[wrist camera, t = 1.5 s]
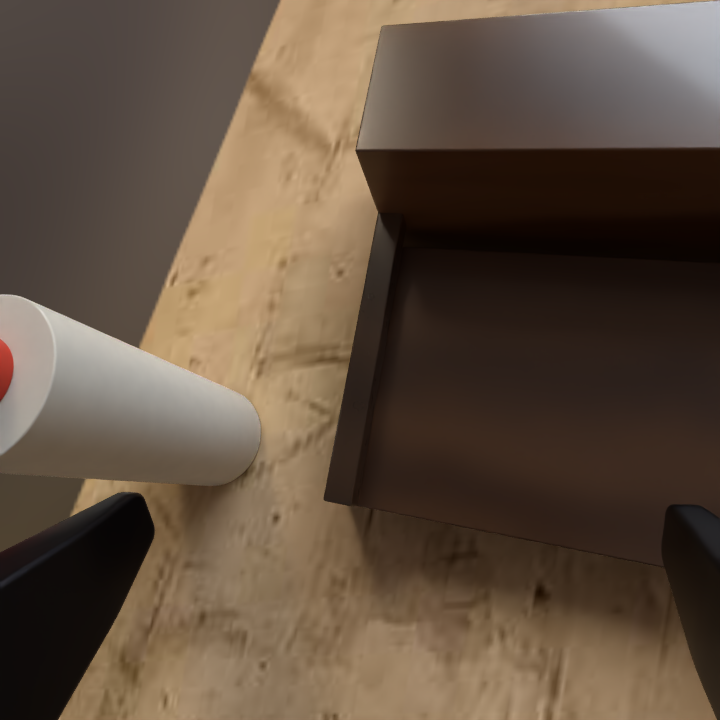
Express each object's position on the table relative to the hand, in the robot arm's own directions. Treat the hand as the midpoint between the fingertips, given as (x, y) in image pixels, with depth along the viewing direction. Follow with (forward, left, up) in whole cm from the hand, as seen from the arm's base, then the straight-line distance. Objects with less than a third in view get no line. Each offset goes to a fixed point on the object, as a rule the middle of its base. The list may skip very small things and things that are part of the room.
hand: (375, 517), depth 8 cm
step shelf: (+8, -7, -15) cm, 18 cm away
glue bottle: (+4, +11, -15) cm, 19 cm away
